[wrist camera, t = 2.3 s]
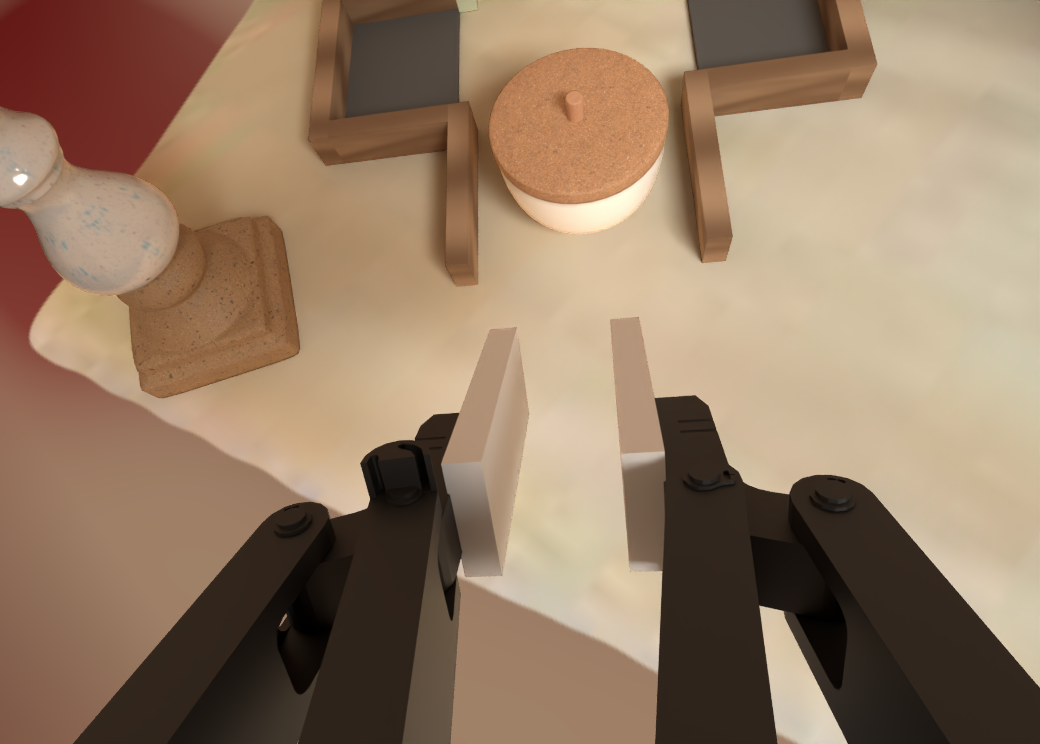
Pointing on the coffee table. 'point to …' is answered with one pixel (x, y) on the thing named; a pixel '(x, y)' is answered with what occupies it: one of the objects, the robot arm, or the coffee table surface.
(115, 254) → the candle holder
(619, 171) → the lidded jar
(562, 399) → the coffee table surface
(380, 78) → the track
